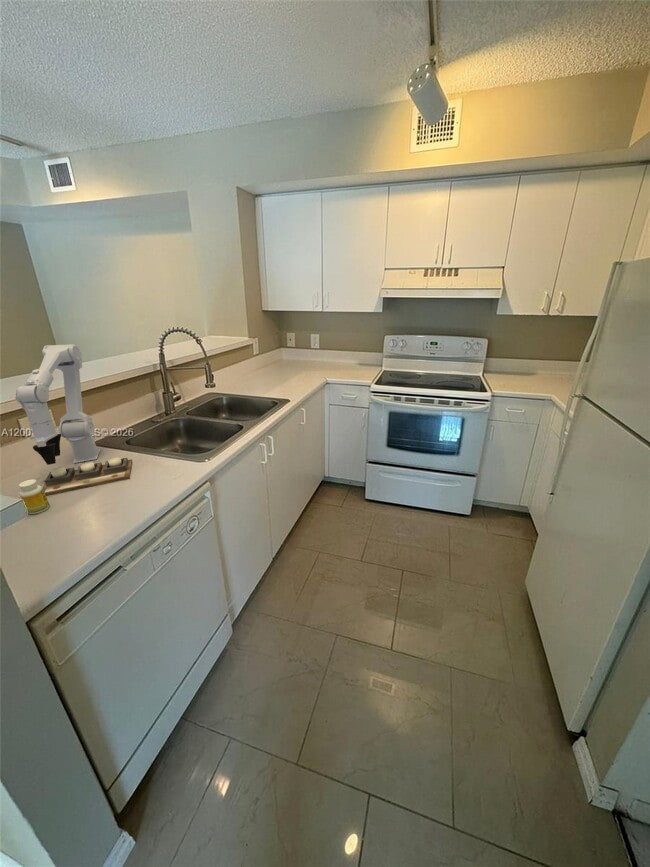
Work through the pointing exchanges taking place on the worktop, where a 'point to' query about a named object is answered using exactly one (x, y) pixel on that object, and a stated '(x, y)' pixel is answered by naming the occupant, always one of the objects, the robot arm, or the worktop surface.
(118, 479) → the board
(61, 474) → the button left
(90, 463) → the button middle
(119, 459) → the button right
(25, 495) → the supplement bottle
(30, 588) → the worktop surface
